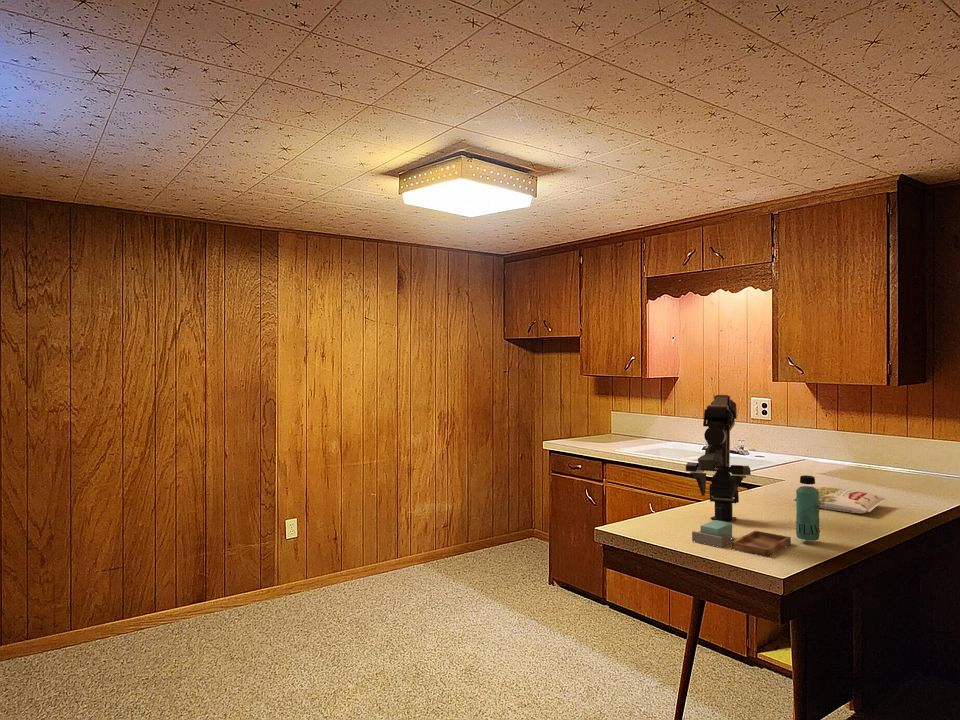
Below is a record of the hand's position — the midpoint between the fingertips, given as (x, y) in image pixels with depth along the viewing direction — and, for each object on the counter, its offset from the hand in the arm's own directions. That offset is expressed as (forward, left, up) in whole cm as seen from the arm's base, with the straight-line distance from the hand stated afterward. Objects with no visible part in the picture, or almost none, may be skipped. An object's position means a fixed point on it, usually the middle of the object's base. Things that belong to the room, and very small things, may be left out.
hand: (717, 497), depth 201 cm
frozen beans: (-64, +15, -13) cm, 67 cm away
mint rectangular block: (+2, +1, -13) cm, 13 cm away
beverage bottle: (-13, +22, -13) cm, 29 cm away
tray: (0, +13, -13) cm, 18 cm away
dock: (+5, +1, -13) cm, 14 cm away
